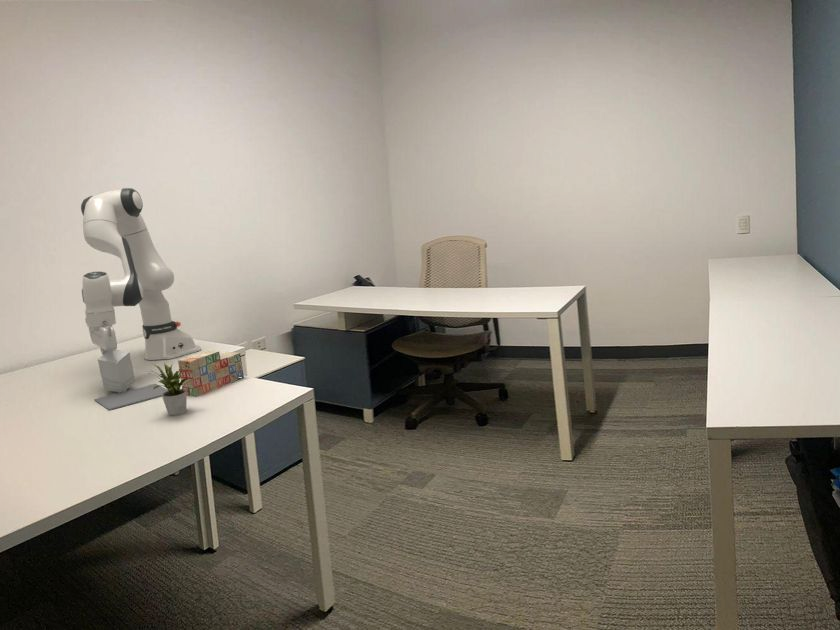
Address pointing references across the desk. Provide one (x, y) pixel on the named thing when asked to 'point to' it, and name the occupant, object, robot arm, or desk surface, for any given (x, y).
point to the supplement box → (116, 370)
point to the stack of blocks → (209, 371)
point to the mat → (131, 397)
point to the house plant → (173, 390)
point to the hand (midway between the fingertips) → (106, 359)
